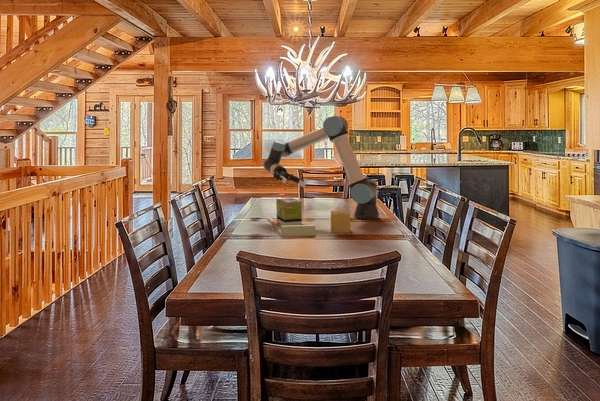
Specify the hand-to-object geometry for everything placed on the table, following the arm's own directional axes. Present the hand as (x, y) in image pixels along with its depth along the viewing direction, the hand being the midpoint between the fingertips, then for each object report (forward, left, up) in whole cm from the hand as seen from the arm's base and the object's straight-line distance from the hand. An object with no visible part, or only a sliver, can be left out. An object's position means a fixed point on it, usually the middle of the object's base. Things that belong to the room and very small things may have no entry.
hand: (295, 183), depth 292 cm
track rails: (+6, +7, -22) cm, 24 cm away
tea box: (+6, +11, -23) cm, 26 cm away
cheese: (-18, +30, -23) cm, 42 cm away
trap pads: (+6, -5, -22) cm, 24 cm away
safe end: (+6, +32, -22) cm, 40 cm away
